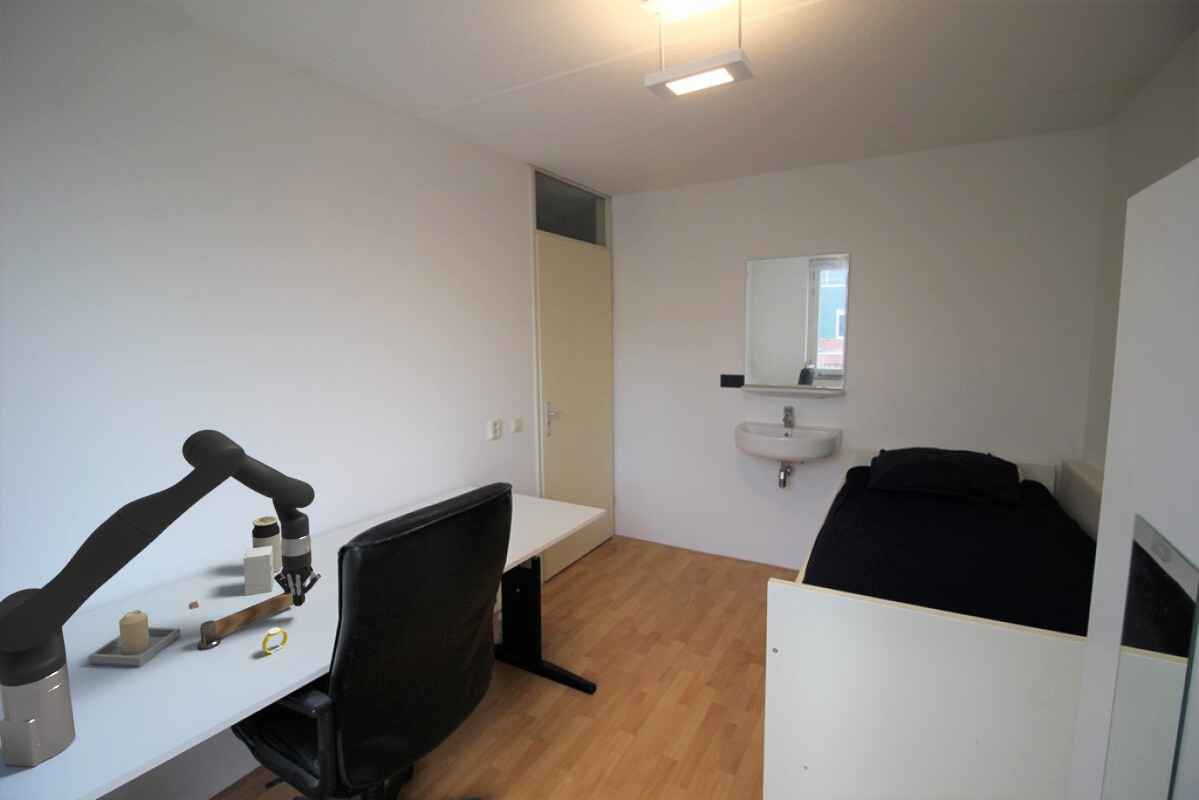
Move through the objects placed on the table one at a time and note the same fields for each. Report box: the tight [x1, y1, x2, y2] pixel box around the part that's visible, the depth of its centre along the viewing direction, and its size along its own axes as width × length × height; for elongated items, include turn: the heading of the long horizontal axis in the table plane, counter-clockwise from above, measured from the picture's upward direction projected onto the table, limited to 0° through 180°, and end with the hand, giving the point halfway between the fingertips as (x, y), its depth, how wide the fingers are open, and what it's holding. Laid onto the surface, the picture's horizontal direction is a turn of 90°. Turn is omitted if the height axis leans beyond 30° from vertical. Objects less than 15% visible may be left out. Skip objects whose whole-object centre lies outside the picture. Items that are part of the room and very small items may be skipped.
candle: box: [118, 609, 150, 655], centre depth 138 cm, size 6×6×10 cm
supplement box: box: [243, 546, 275, 596], centre depth 170 cm, size 7×7×13 cm
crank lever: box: [199, 586, 295, 644], centre depth 151 cm, size 24×3×6 cm, turn 149°
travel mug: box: [251, 515, 282, 573], centre depth 182 cm, size 8×8×18 cm
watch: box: [261, 626, 288, 654], centre depth 141 cm, size 6×3×6 cm, turn 152°
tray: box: [88, 626, 181, 668], centre depth 139 cm, size 13×13×2 cm
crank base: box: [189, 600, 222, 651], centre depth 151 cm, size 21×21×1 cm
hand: (299, 604), depth 156 cm, fingers closed
